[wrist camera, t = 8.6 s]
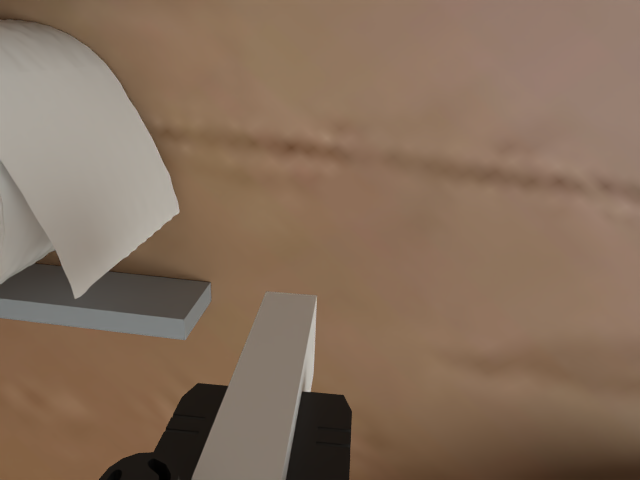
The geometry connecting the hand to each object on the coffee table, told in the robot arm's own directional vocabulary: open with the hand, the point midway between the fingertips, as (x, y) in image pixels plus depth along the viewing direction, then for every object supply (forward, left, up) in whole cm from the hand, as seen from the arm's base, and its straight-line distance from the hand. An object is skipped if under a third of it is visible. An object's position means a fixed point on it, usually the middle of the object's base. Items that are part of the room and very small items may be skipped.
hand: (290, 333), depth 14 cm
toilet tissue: (-15, +3, -12) cm, 19 cm away
